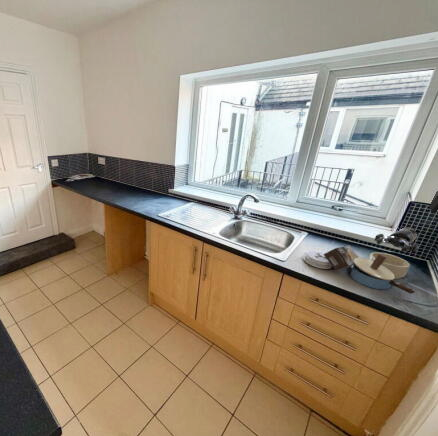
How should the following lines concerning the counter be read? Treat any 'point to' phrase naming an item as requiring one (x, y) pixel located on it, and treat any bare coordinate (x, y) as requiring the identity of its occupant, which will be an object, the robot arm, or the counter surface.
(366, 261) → the pot lid
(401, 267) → the pot
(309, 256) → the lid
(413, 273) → the counter surface
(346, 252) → the coffee box
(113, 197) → the counter surface
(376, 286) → the pan
